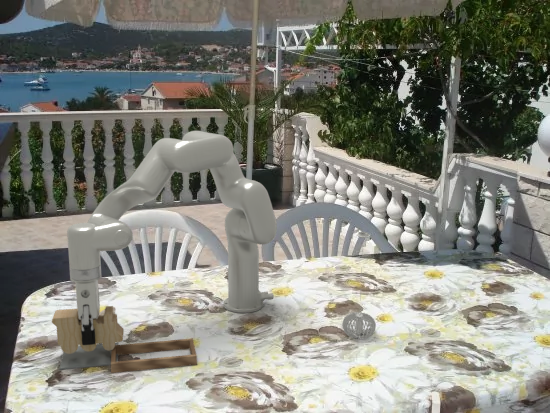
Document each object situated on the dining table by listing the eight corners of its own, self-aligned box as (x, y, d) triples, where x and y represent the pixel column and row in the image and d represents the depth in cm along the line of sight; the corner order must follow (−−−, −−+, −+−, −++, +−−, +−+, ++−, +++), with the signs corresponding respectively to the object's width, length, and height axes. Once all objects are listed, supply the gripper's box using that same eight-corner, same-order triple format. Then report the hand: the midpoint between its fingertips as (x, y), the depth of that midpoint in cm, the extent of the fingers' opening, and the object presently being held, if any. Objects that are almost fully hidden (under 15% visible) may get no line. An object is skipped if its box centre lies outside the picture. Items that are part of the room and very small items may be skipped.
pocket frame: (192, 346, 167) (192, 338, 167) (196, 364, 157) (196, 355, 157) (112, 353, 163) (111, 345, 162) (111, 372, 153) (110, 364, 152)
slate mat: (118, 343, 169) (118, 342, 168) (117, 364, 157) (117, 362, 157) (64, 348, 165) (64, 347, 165) (59, 369, 154) (59, 368, 154)
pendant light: (377, 331, 178) (383, 230, 172) (371, 344, 170) (377, 239, 163) (346, 326, 181) (350, 227, 175) (338, 339, 173) (342, 235, 166)
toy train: (123, 349, 160) (121, 313, 158) (54, 355, 157) (51, 318, 154) (124, 340, 165) (122, 305, 163) (57, 345, 162) (54, 309, 160)
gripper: (99, 283, 149) (103, 352, 153) (102, 261, 165) (105, 324, 169) (66, 285, 147) (71, 355, 151) (72, 262, 164) (77, 326, 168)
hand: (89, 338), depth 160 cm, fingers closed on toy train, 5 cm apart
